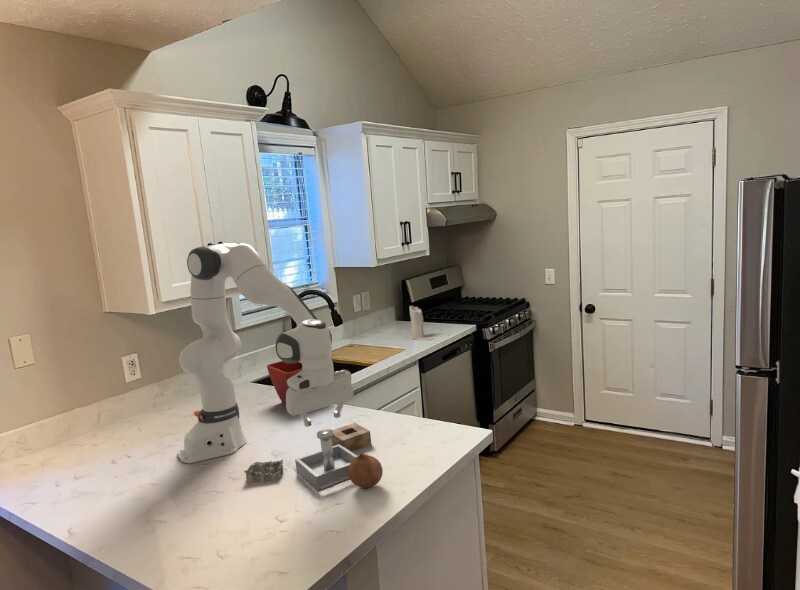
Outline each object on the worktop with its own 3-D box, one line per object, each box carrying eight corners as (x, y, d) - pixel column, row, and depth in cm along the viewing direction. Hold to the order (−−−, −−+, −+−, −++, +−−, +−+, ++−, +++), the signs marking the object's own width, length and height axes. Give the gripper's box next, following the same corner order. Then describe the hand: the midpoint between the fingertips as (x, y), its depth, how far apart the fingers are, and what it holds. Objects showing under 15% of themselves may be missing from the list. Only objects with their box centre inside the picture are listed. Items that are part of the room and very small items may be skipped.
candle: (430, 340, 314) (427, 306, 311) (409, 339, 321) (407, 306, 318) (436, 337, 320) (433, 304, 317) (415, 336, 327) (412, 304, 324)
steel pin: (325, 476, 157) (321, 437, 155) (318, 470, 161) (314, 432, 159) (340, 470, 160) (336, 432, 158) (333, 465, 164) (328, 427, 162)
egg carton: (244, 484, 160) (242, 471, 159) (252, 472, 167) (250, 459, 166) (279, 482, 159) (277, 469, 158) (286, 470, 166) (284, 457, 166)
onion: (344, 486, 152) (341, 453, 151) (374, 476, 157) (371, 443, 155) (359, 500, 144) (355, 465, 142) (390, 489, 148) (386, 454, 147)
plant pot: (291, 413, 214) (286, 372, 212) (270, 403, 229) (265, 364, 227) (332, 400, 226) (328, 361, 223) (310, 391, 241) (305, 354, 238)
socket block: (344, 458, 170) (342, 440, 169) (330, 448, 178) (328, 431, 177) (371, 448, 175) (370, 431, 174) (356, 439, 184) (355, 422, 183)
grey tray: (318, 492, 150) (316, 477, 150) (296, 473, 163) (295, 459, 162) (364, 474, 158) (363, 459, 158) (341, 457, 171) (339, 444, 170)
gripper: (345, 366, 164) (349, 409, 166) (281, 381, 153) (286, 427, 155) (355, 370, 159) (359, 415, 161) (290, 386, 148) (294, 434, 150)
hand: (322, 421), depth 158 cm, fingers open, 8 cm apart
